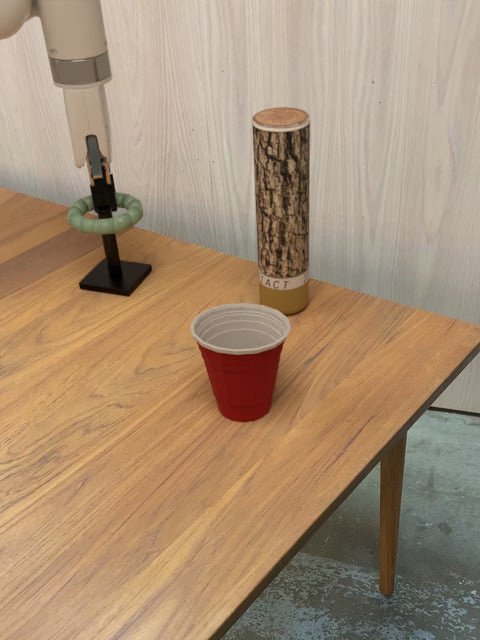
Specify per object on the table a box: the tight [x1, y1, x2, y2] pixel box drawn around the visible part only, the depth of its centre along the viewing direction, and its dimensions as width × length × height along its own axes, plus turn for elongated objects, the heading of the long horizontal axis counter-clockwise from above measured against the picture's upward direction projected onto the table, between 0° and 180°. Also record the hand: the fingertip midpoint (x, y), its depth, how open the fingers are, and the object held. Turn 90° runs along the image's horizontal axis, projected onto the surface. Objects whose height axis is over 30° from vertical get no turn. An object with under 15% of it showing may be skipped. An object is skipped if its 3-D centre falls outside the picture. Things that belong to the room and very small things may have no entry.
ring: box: [66, 191, 144, 236], centre depth 108 cm, size 10×10×2 cm
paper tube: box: [251, 106, 311, 316], centre depth 100 cm, size 7×7×25 cm
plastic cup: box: [189, 302, 292, 423], centre depth 87 cm, size 11×11×12 cm
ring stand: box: [78, 205, 153, 297], centre depth 111 cm, size 8×8×11 cm
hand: (106, 206), depth 112 cm, fingers closed on ring, 2 cm apart
